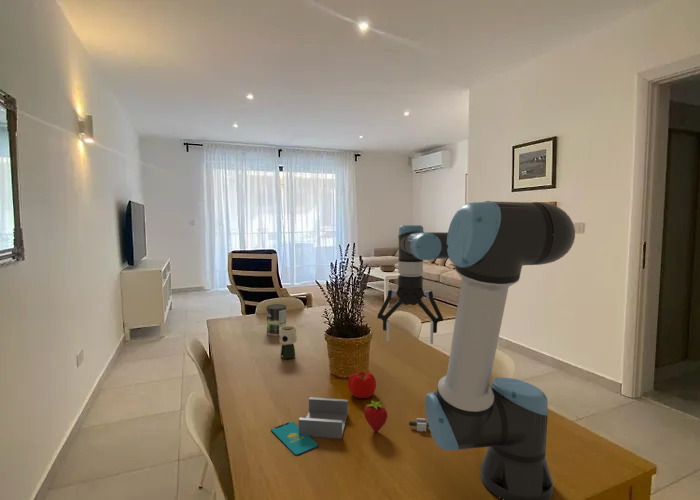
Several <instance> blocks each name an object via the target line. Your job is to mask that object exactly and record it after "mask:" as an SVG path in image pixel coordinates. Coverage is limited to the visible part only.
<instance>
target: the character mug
mask: <svg viewBox="0 0 700 500" xmlns="http://www.w3.org/2000/svg"><path fill="white" fill-rule="evenodd" d="M278 337H279V339H278V341H279V343H280V344H281V349H280V358H282V359H286V360H289V359H292V358H294V357H295V356H296V350H295V345H294V344H296V343H297V339H298V338H297V327H296V326H292V325H286V326H284V327H280V329H279V336H278Z"/></svg>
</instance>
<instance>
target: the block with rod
mask: <svg viewBox="0 0 700 500" xmlns="http://www.w3.org/2000/svg"><path fill="white" fill-rule="evenodd" d="M408 426H411V427H416V431H417V432H423V431H425V432H427V428H429V425H428V421H427V418H423V417H422V418H421V417H416V421H411V420H410V421H409V422H408Z"/></svg>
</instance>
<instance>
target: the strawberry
mask: <svg viewBox="0 0 700 500" xmlns="http://www.w3.org/2000/svg"><path fill="white" fill-rule="evenodd" d="M372 399H373V400H370V401H371V403H368V404H367V403H366V404H365V407H364V411H363V414H364V417H365V420H366V422H367V423H368V425H369V426H370V427H371V429H372V430H373V432H374V433H376V432H379V431H380V429H382V428H383V426H384V425H385V424H386V422H387V420H388V411H387V409H386V408H385V407H384V404H383V403H382V400H381V401H375V399H374V398H372Z"/></svg>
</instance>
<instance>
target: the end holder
mask: <svg viewBox="0 0 700 500" xmlns="http://www.w3.org/2000/svg"><path fill="white" fill-rule="evenodd" d="M348 416H349V399H345V398H344V399H342V398H328V397H327V398H323V397H310V396H309V398H308V413H307V414H306V417H301V416H300V417H299V418H298V427H299V434H301V435H309V436H310V437H311V438H312V437H315V438H324V439H325V438H328V439H339V440H342V439H343V435H344V432H345V427H346V424H345V423H346V422H347V420H346V419H347V418H348Z"/></svg>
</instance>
